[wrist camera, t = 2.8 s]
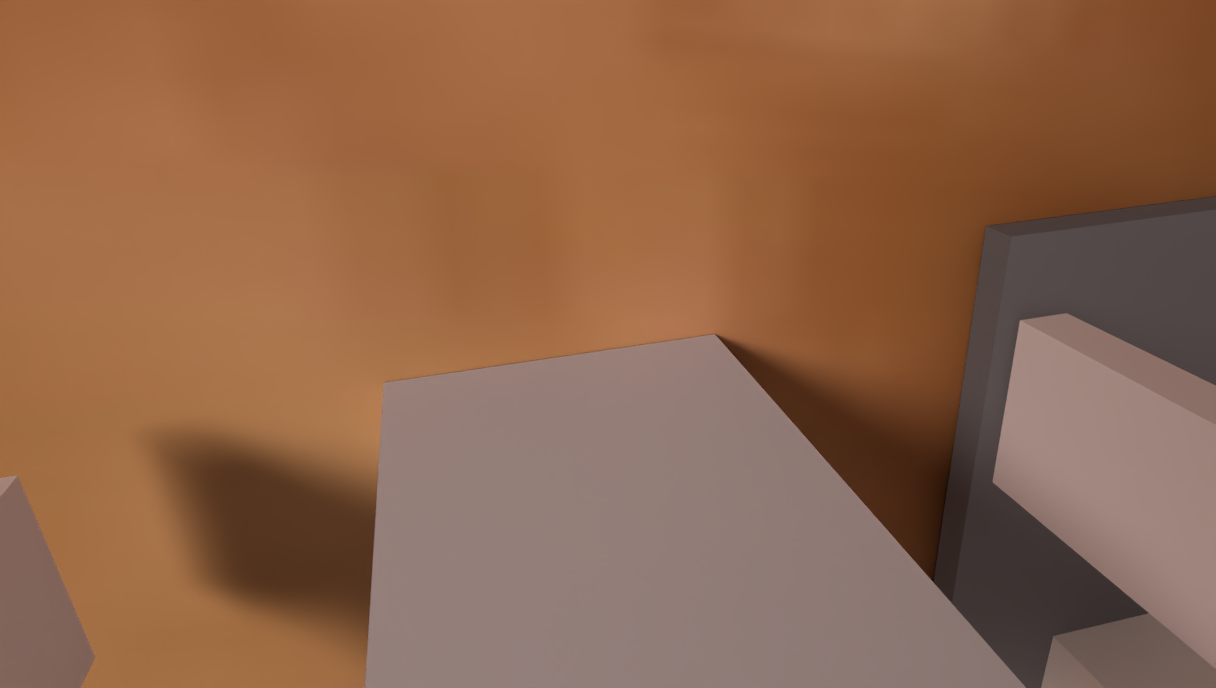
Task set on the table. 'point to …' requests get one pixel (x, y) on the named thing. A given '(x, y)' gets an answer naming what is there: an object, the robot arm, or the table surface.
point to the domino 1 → (637, 539)
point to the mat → (1006, 293)
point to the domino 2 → (1125, 658)
